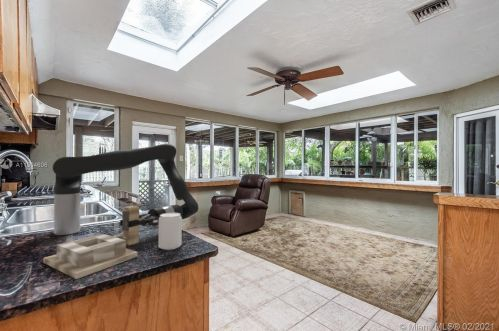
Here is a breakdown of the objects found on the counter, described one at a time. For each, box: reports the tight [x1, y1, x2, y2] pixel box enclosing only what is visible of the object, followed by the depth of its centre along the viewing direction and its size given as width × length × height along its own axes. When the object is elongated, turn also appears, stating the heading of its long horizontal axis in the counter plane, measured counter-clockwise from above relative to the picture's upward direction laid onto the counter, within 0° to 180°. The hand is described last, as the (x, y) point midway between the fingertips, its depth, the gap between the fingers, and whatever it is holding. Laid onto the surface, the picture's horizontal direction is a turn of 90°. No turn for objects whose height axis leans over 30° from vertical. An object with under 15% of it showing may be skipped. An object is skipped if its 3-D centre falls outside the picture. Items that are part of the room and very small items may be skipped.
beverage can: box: [158, 213, 183, 251], centre depth 88 cm, size 8×8×12 cm
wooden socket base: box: [42, 233, 139, 280], centre depth 76 cm, size 20×18×6 cm
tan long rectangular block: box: [121, 205, 140, 246], centre depth 91 cm, size 4×5×14 cm
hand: (124, 223), depth 89 cm, fingers closed on tan long rectangular block, 4 cm apart
